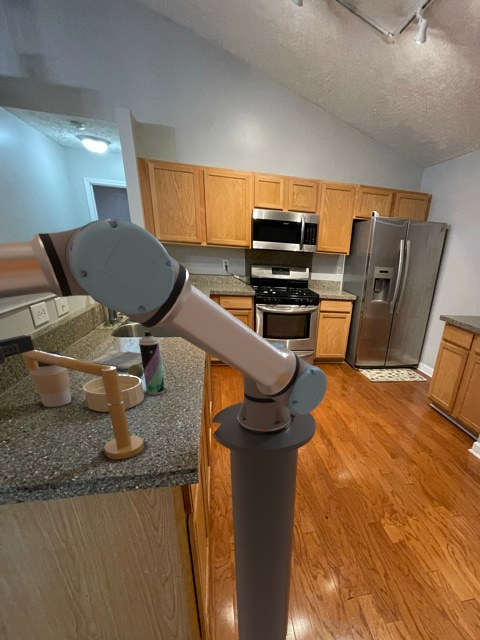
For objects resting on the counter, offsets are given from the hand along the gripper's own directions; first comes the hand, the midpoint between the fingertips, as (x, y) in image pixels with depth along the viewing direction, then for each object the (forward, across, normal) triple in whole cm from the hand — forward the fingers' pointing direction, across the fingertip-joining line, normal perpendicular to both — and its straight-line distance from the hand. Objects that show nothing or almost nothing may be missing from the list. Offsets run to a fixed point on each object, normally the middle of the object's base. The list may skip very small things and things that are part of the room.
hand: (29, 342), depth 60 cm
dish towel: (+59, -32, -26) cm, 72 cm away
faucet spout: (+8, -2, -13) cm, 16 cm away
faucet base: (+6, +11, -26) cm, 28 cm away
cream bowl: (+27, -9, -26) cm, 38 cm away
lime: (+47, -17, -26) cm, 56 cm away
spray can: (+38, -3, -26) cm, 46 cm away
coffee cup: (+22, -24, -26) cm, 42 cm away
